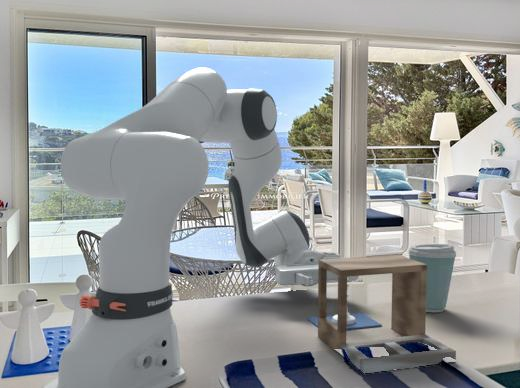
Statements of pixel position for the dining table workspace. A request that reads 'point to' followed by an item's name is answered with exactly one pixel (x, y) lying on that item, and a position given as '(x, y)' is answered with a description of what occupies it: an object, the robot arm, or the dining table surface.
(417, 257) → the disposable coffee cup
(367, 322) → the mat
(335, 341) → the tunnel
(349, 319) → the chess piece
